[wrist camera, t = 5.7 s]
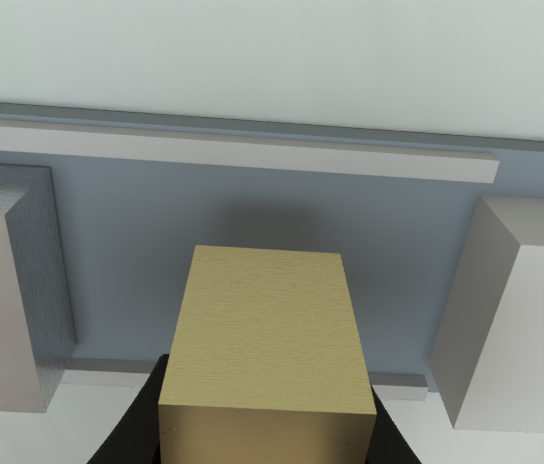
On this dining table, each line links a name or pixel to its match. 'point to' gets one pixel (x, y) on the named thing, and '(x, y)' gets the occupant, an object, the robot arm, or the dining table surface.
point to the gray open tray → (305, 242)
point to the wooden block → (265, 363)
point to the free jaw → (31, 292)
